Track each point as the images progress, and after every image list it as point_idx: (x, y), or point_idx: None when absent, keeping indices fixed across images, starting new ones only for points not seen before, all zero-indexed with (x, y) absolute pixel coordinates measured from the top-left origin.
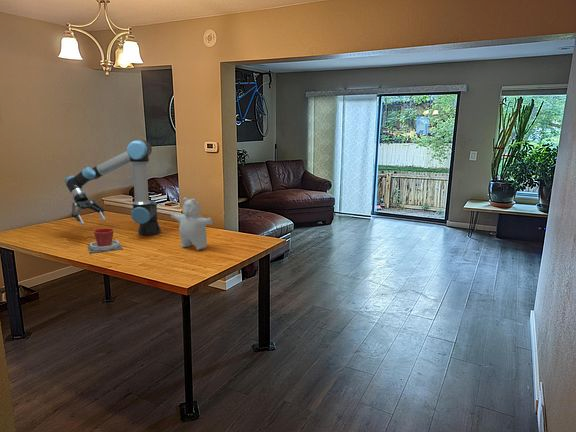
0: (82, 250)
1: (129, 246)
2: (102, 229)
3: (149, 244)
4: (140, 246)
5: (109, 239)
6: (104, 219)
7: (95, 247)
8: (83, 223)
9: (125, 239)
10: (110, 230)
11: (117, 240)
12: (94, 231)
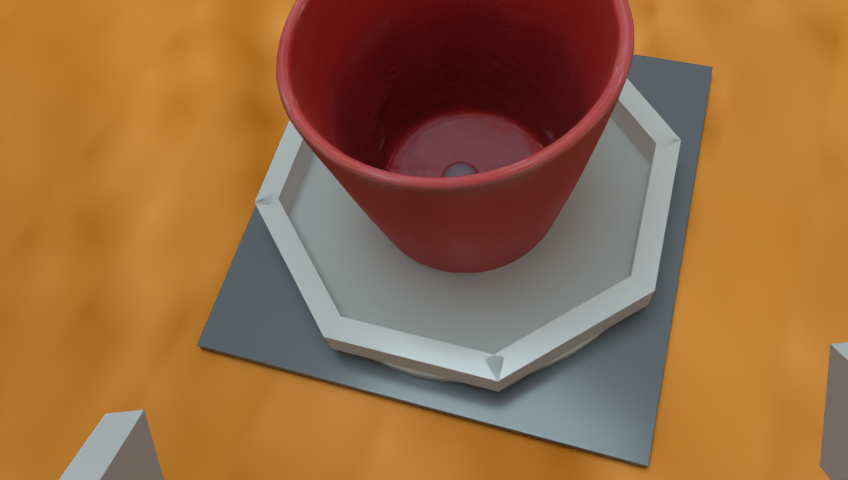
0: (769, 268)
1: (222, 79)
2: (410, 179)
3: (30, 24)
4: (143, 12)
5: (426, 35)
6: (133, 418)
7: (632, 91)
8: (835, 360)
9: (33, 441)
10: (305, 99)
11: (258, 201)
12: (624, 51)
